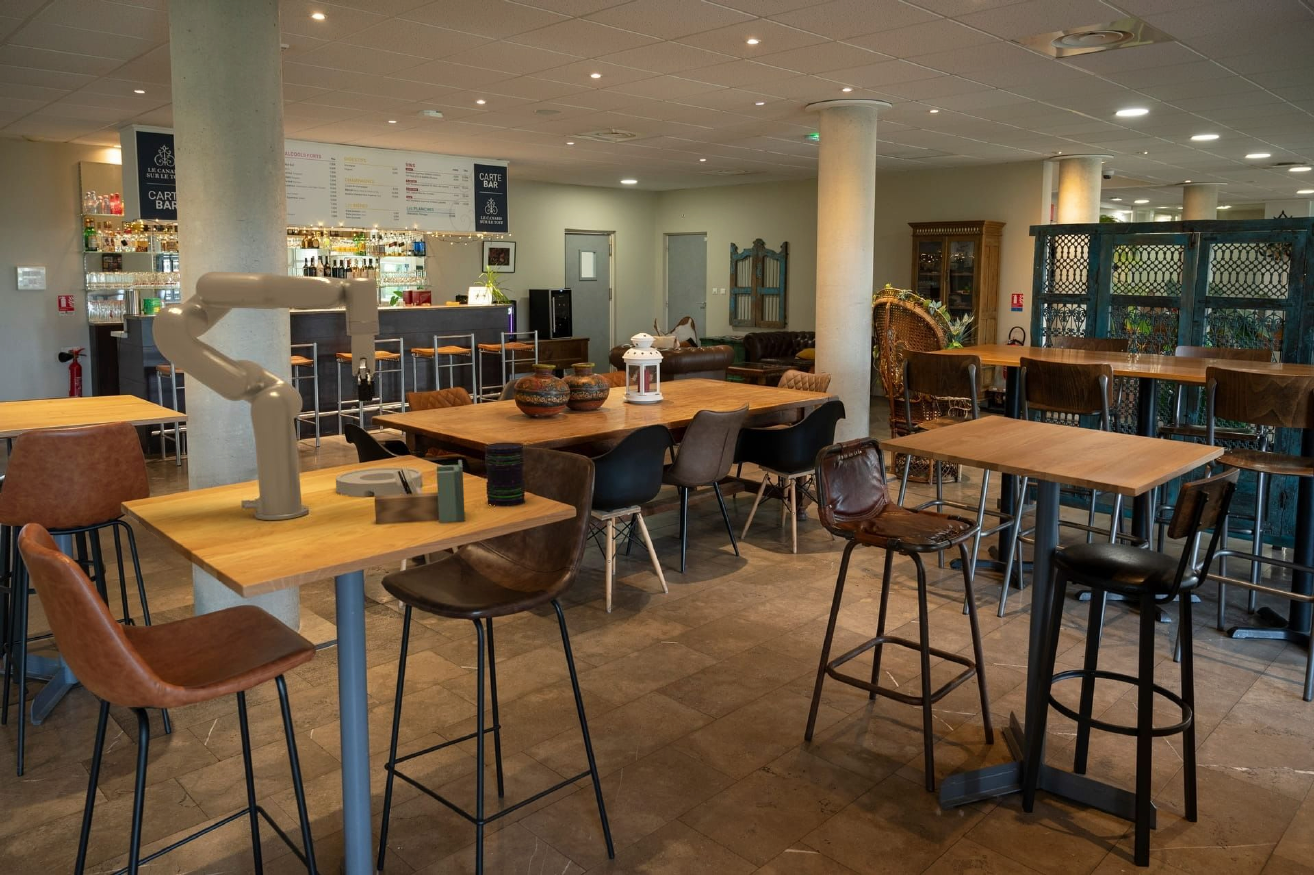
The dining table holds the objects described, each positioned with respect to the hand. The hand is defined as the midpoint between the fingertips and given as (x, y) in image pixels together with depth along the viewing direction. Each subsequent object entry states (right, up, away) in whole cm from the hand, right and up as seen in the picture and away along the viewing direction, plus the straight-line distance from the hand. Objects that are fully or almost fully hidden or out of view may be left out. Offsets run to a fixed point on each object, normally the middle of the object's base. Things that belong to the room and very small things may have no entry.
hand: (367, 398), depth 239 cm
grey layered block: (+7, -27, +15) cm, 31 cm away
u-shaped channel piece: (+21, -29, -3) cm, 36 cm away
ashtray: (-6, -24, +32) cm, 41 cm away
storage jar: (+32, -27, +12) cm, 44 cm away
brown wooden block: (+12, -29, -5) cm, 32 cm away
